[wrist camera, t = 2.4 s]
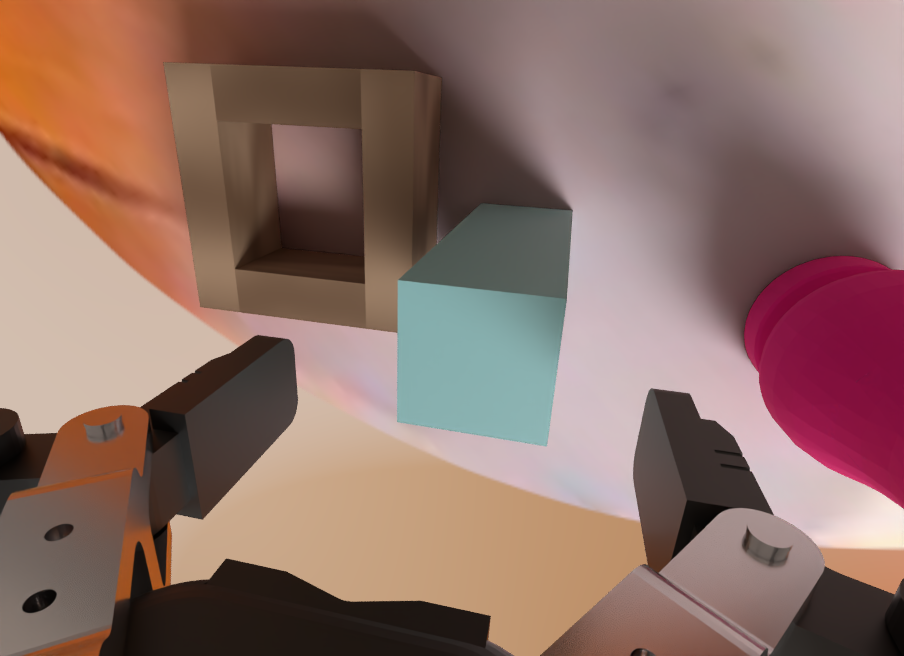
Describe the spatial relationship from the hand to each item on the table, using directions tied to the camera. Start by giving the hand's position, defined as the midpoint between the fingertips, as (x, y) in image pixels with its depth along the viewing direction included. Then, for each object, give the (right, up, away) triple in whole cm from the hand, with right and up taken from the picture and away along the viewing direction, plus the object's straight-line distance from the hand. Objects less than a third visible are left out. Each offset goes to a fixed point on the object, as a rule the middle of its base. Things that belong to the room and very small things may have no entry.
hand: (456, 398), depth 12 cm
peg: (+3, +5, +12) cm, 14 cm away
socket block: (-6, +8, +13) cm, 16 cm away
